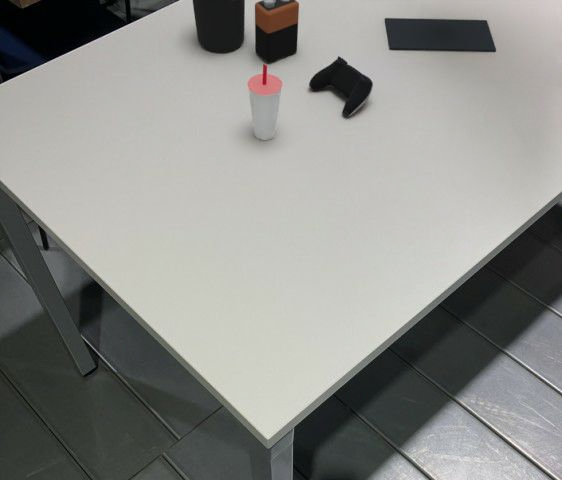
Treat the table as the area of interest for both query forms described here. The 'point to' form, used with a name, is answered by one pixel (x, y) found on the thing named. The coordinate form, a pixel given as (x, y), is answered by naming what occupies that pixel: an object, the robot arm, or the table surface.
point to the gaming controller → (344, 84)
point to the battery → (276, 28)
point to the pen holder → (220, 24)
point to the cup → (264, 103)
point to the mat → (439, 35)
